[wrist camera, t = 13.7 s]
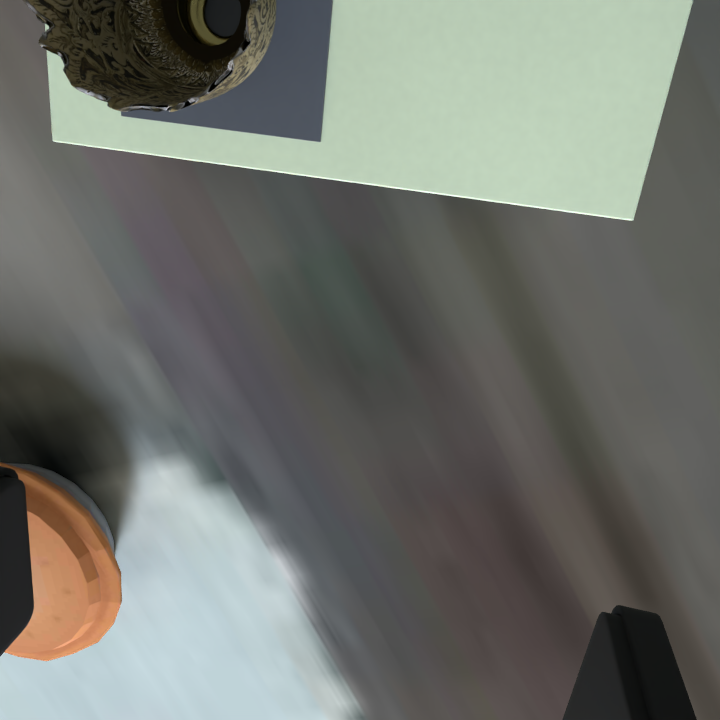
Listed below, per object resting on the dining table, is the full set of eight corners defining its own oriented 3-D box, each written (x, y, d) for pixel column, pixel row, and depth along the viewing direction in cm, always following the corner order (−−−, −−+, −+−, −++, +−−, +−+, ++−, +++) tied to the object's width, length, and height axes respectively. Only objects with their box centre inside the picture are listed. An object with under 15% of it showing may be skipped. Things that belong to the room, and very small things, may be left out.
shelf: (683, -86, 27) (730, -127, 22) (609, 204, 32) (634, 222, 27) (98, -138, 30) (27, -185, 25) (107, 136, 34) (49, 141, 29)
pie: (-95, 533, 47) (-155, 579, 42) (-9, 389, 41) (-69, 424, 37) (80, 654, 49) (40, 712, 44) (186, 532, 43) (152, 583, 38)
